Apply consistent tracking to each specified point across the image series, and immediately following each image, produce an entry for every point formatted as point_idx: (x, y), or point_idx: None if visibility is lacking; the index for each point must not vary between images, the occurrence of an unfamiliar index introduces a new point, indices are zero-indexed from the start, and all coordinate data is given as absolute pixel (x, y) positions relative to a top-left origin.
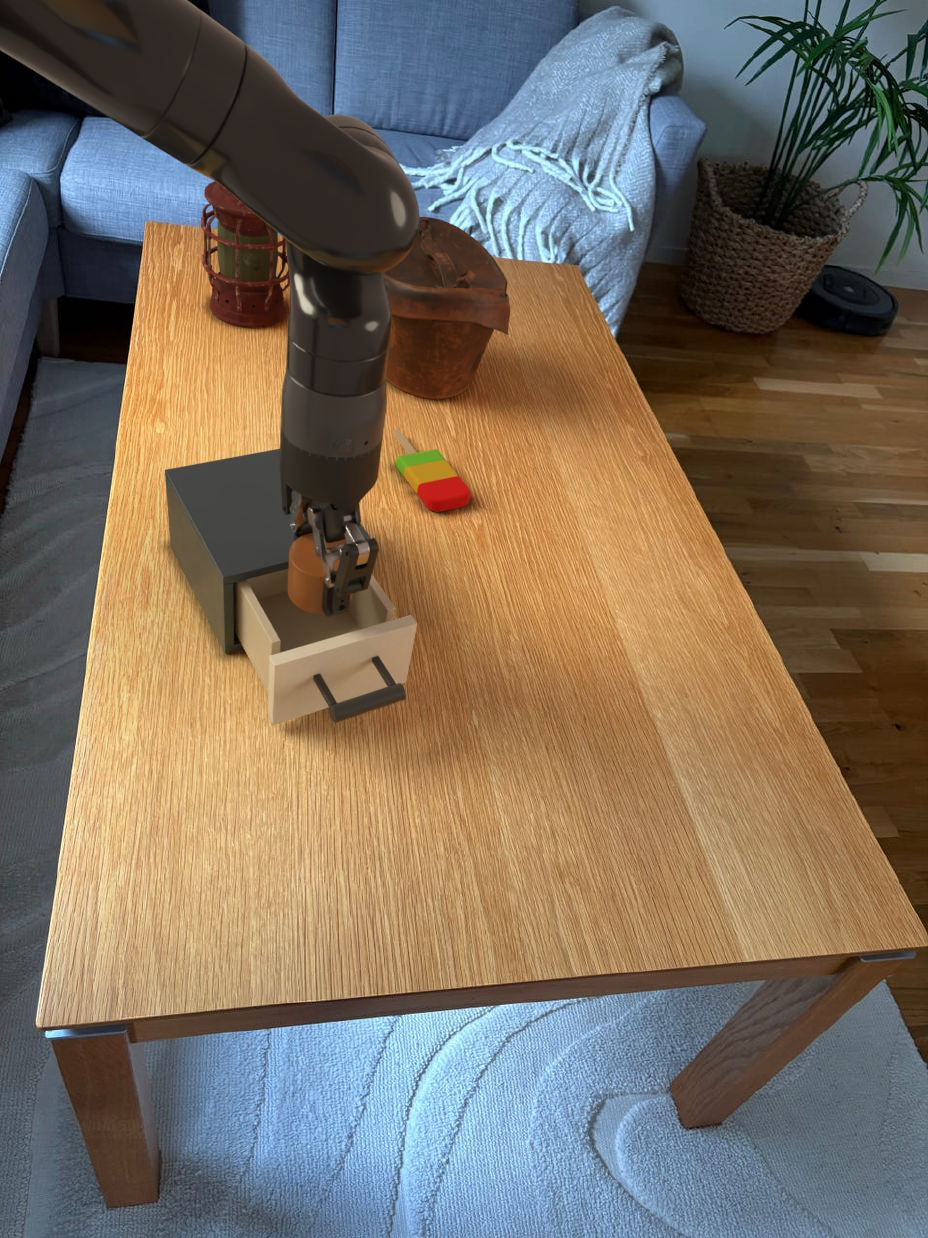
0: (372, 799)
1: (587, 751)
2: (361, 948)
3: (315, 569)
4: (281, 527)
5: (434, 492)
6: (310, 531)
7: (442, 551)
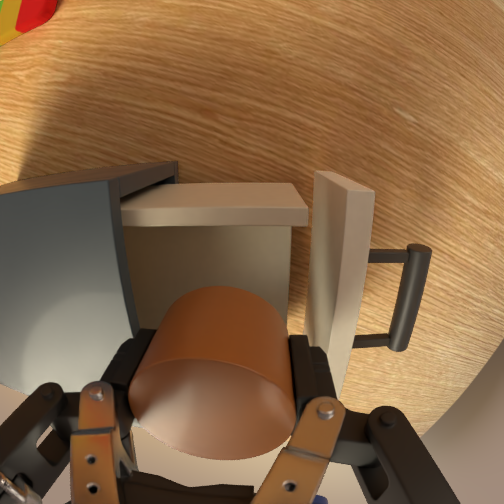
0: (431, 279)
1: (474, 45)
2: (494, 330)
3: (255, 443)
4: (60, 329)
5: (31, 12)
6: (126, 408)
7: (109, 16)
